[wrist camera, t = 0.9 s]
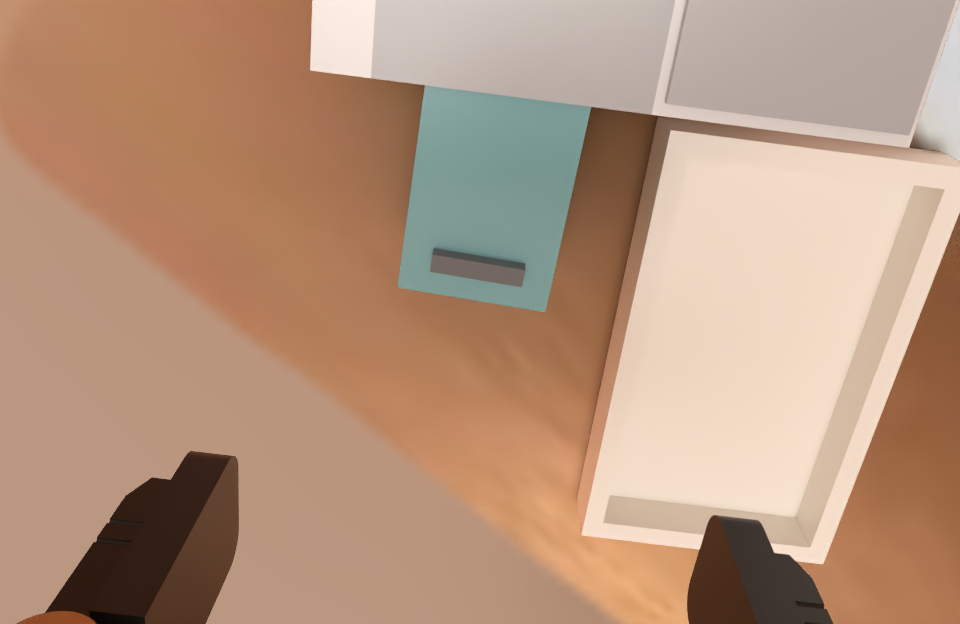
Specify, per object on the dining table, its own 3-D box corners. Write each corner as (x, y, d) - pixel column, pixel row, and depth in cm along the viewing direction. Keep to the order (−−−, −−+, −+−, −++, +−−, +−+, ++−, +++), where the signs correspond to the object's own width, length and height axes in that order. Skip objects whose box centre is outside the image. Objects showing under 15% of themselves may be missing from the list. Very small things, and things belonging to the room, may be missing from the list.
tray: (939, 151, 30) (976, 169, 28) (803, 525, 37) (822, 564, 35) (658, 115, 30) (670, 130, 28) (576, 497, 37) (581, 535, 35)
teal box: (615, -110, 27) (645, -124, 21) (539, 249, 33) (546, 319, 27) (468, -138, 27) (456, -160, 21) (416, 228, 32) (395, 294, 26)
